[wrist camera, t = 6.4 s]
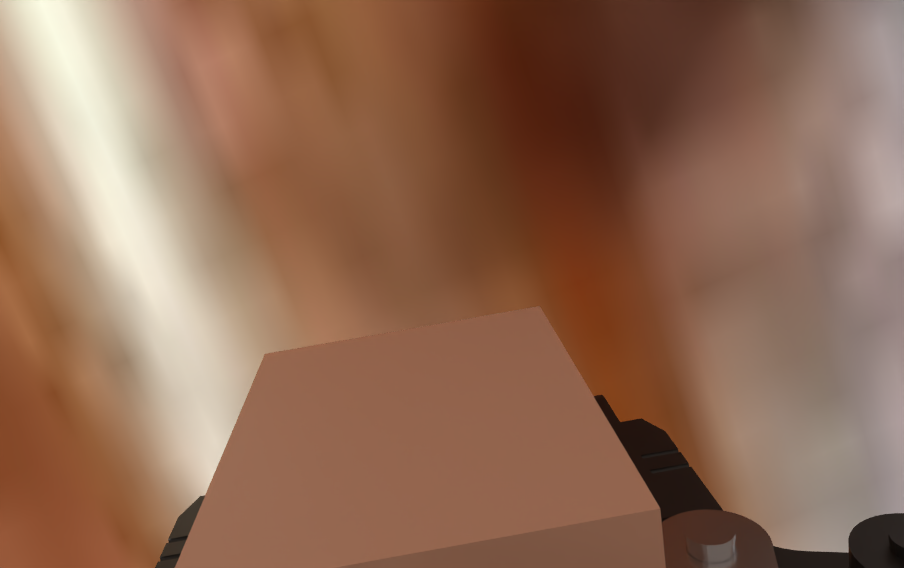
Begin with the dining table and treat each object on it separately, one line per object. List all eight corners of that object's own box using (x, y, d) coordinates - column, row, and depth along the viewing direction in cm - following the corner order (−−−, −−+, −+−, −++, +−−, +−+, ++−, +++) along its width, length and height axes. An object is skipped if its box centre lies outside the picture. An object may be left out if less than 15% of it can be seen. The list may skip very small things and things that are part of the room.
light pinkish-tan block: (539, 306, 13) (660, 508, 7) (571, 542, 14) (694, 875, 8) (265, 353, 13) (162, 598, 7) (321, 587, 14) (272, 958, 8)
